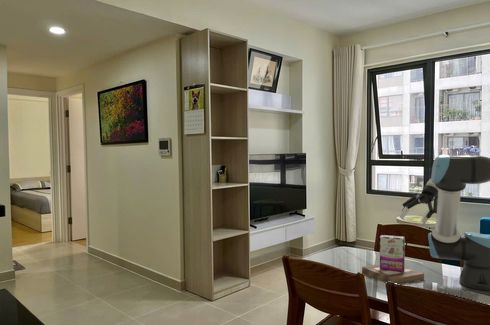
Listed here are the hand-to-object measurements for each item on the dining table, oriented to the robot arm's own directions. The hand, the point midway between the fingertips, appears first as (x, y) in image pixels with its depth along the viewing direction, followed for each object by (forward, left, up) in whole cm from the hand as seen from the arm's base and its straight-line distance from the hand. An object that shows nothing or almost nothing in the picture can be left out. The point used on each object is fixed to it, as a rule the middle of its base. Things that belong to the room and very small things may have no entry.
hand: (411, 220), depth 188 cm
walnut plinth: (-3, +16, -26) cm, 31 cm away
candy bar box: (-3, +16, -23) cm, 28 cm away
